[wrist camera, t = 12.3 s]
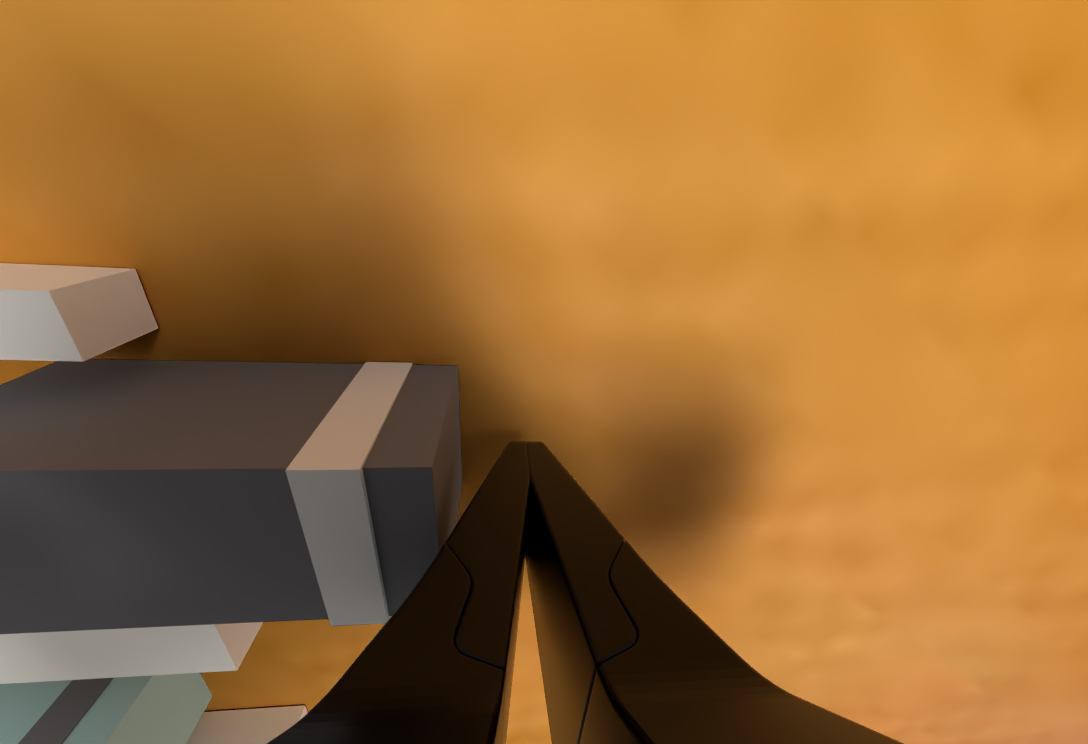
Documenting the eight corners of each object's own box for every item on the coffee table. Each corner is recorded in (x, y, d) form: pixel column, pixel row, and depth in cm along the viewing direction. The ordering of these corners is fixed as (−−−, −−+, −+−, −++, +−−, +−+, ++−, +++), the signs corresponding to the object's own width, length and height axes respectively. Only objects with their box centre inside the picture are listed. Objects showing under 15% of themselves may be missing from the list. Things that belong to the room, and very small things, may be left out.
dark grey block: (462, 485, 11) (443, 620, 7) (133, 489, 10) (-51, 644, 7) (457, 363, 9) (430, 469, 6) (62, 356, 8) (-227, 474, 5)
